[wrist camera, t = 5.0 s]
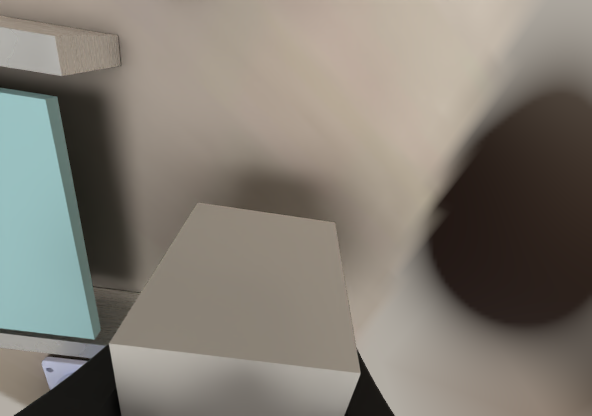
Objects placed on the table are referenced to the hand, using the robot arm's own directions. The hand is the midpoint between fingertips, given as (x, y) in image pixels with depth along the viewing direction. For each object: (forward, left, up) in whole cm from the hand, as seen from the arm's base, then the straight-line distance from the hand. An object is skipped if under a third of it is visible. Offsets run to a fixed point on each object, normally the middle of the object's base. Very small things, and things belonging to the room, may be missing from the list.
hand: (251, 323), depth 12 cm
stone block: (0, 0, -2) cm, 2 cm away
